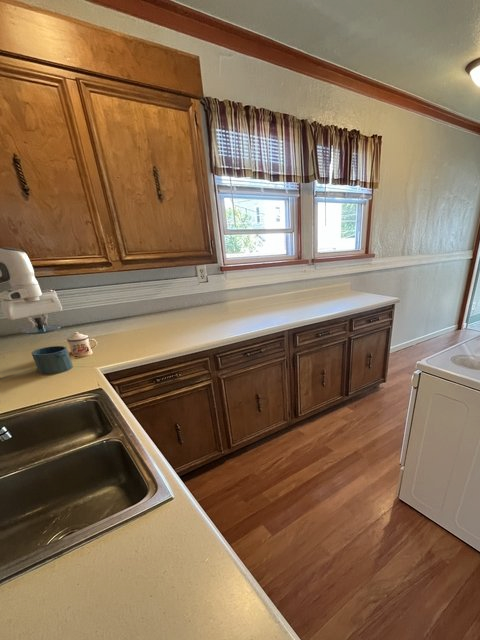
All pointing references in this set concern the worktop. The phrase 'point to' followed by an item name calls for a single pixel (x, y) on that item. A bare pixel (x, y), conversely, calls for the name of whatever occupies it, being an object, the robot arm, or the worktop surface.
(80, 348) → the teacup with lid
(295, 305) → the worktop surface
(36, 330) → the lid
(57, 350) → the tin
